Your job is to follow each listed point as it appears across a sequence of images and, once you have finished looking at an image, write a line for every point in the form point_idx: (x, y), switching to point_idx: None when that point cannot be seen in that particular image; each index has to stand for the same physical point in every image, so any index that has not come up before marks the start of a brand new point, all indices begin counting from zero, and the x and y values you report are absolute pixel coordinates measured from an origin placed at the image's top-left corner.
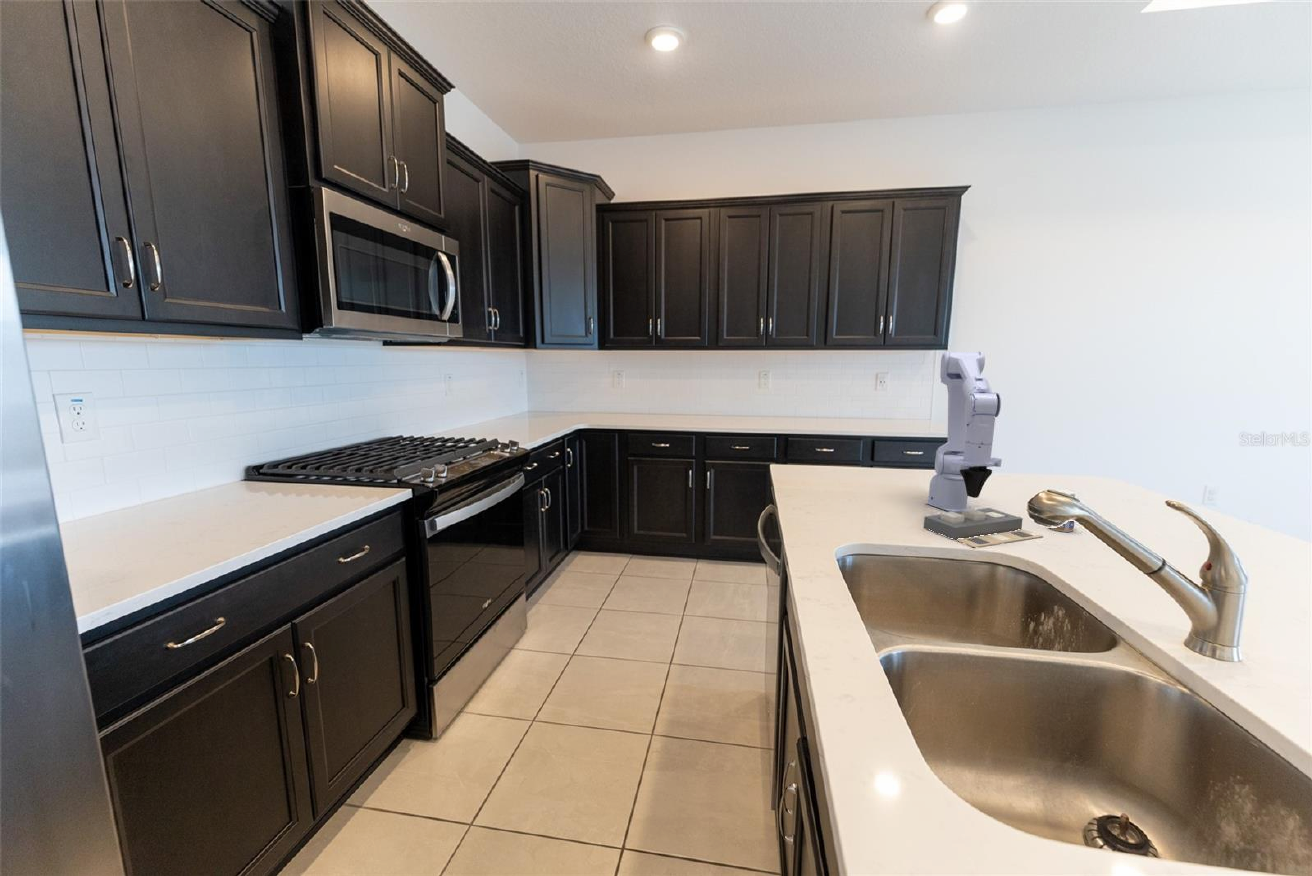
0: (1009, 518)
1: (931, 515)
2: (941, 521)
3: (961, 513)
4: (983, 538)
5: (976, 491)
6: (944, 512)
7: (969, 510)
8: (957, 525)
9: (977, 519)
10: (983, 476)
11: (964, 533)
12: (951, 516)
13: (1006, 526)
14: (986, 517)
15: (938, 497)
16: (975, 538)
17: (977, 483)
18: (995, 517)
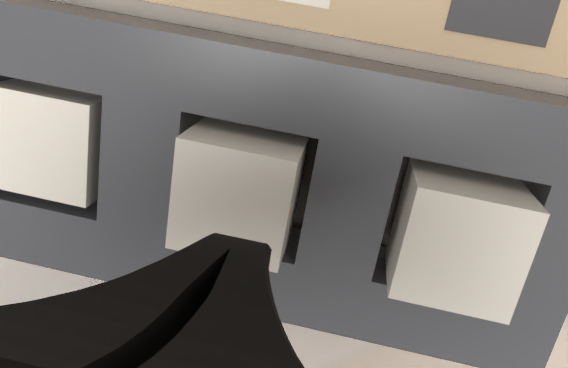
0: (13, 36)
1: (472, 365)
2: (563, 261)
3: None
4: (414, 1)
5: (258, 265)
6: (469, 315)
7: None
8: (560, 147)
9: (271, 143)
10: (122, 356)
11: (517, 91)
12: (538, 234)
13: (99, 15)
14: (152, 139)
15: None
16: (475, 26)
17: (259, 320)
18: (88, 106)
